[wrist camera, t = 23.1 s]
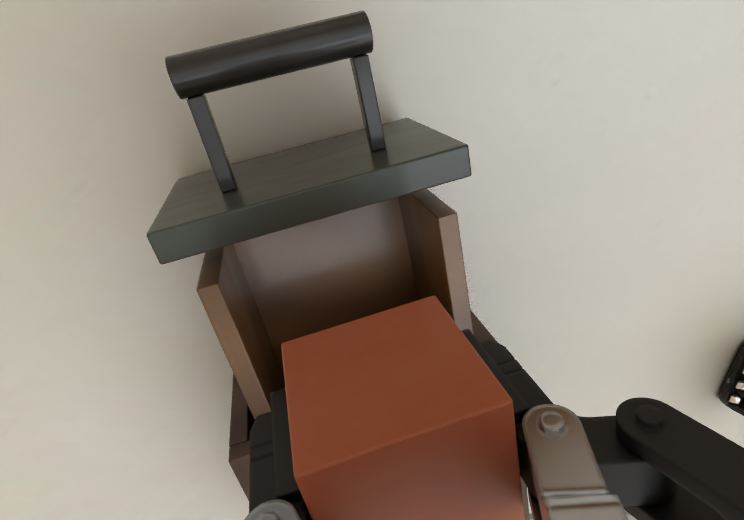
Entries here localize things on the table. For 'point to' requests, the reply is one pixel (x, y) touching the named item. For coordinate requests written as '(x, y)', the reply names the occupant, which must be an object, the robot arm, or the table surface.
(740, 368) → the battery charger
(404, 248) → the drawer
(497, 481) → the block
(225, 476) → the table surface
